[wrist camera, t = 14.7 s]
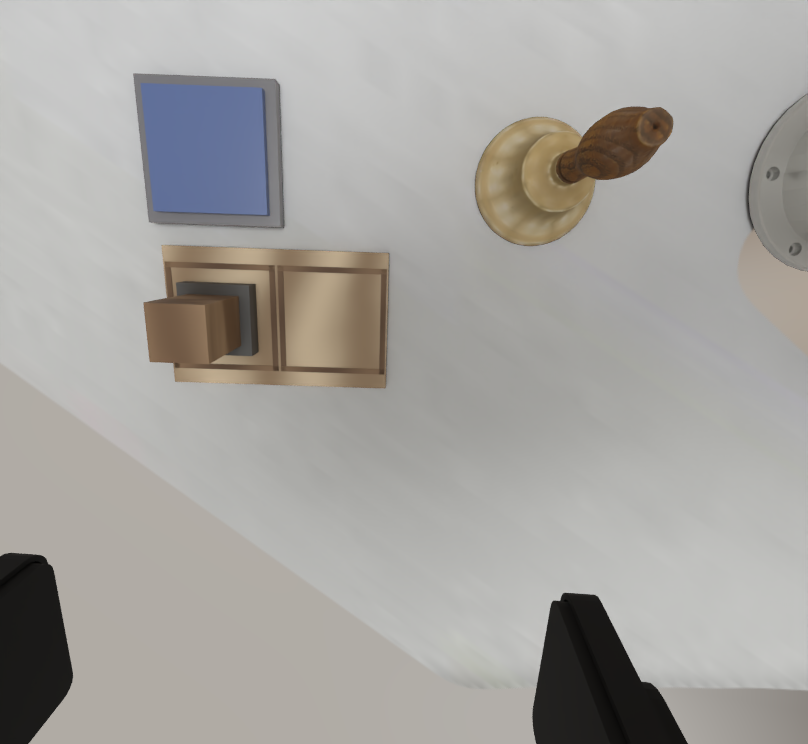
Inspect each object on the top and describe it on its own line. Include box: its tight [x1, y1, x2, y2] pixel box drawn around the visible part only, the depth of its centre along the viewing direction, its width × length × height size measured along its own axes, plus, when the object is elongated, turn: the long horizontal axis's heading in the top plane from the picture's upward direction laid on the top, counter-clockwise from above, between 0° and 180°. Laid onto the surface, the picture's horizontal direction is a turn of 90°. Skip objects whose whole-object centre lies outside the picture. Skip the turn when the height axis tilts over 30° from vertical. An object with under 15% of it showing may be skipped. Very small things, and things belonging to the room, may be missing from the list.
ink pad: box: [133, 74, 284, 228], centre depth 30 cm, size 9×9×2 cm
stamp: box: [144, 281, 259, 364], centre depth 30 cm, size 5×5×7 cm
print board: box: [162, 245, 389, 388], centre depth 33 cm, size 16×10×1 cm, turn 88°
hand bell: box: [475, 107, 673, 246], centre depth 24 cm, size 8×8×16 cm
